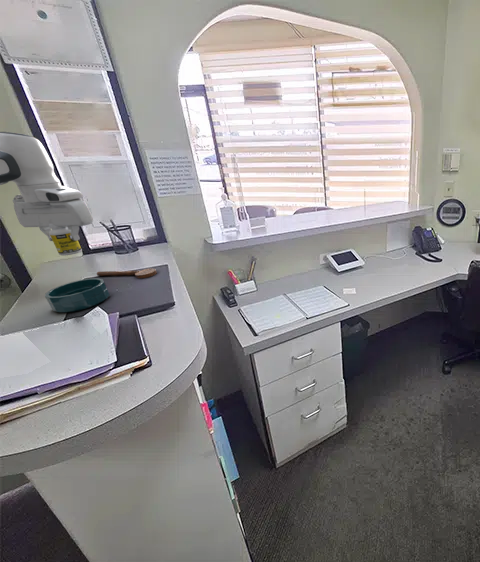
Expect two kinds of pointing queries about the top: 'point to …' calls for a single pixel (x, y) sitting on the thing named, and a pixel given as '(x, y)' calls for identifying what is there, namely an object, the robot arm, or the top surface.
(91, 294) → the bowl
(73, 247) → the supplement bottle
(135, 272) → the spoon
